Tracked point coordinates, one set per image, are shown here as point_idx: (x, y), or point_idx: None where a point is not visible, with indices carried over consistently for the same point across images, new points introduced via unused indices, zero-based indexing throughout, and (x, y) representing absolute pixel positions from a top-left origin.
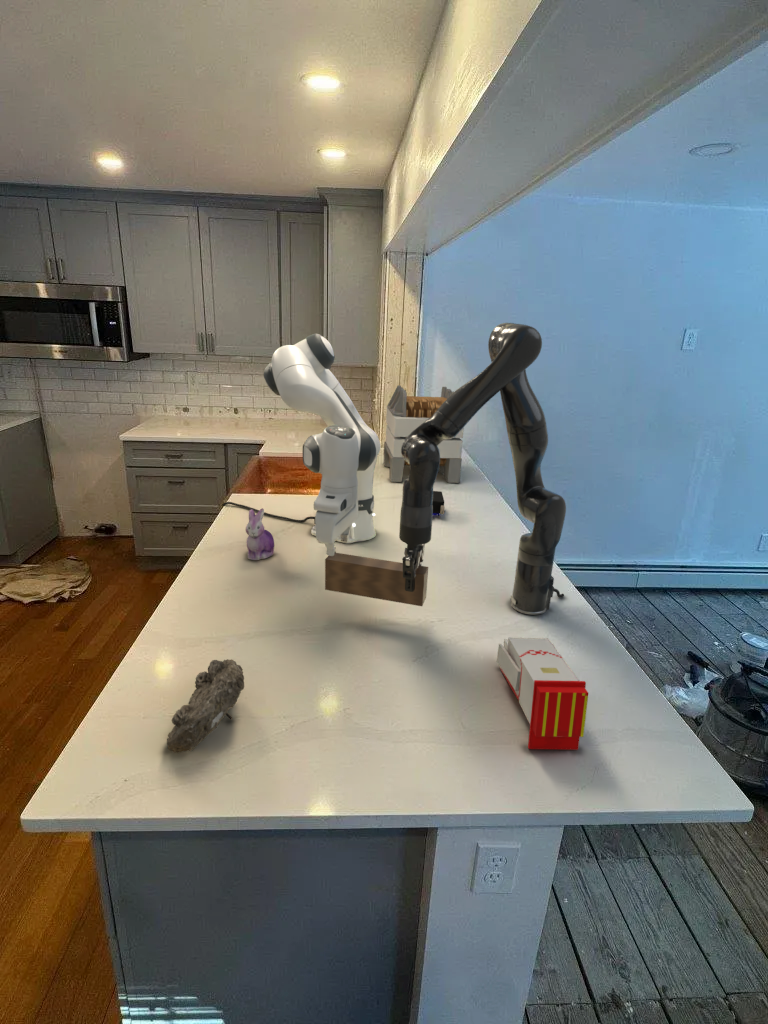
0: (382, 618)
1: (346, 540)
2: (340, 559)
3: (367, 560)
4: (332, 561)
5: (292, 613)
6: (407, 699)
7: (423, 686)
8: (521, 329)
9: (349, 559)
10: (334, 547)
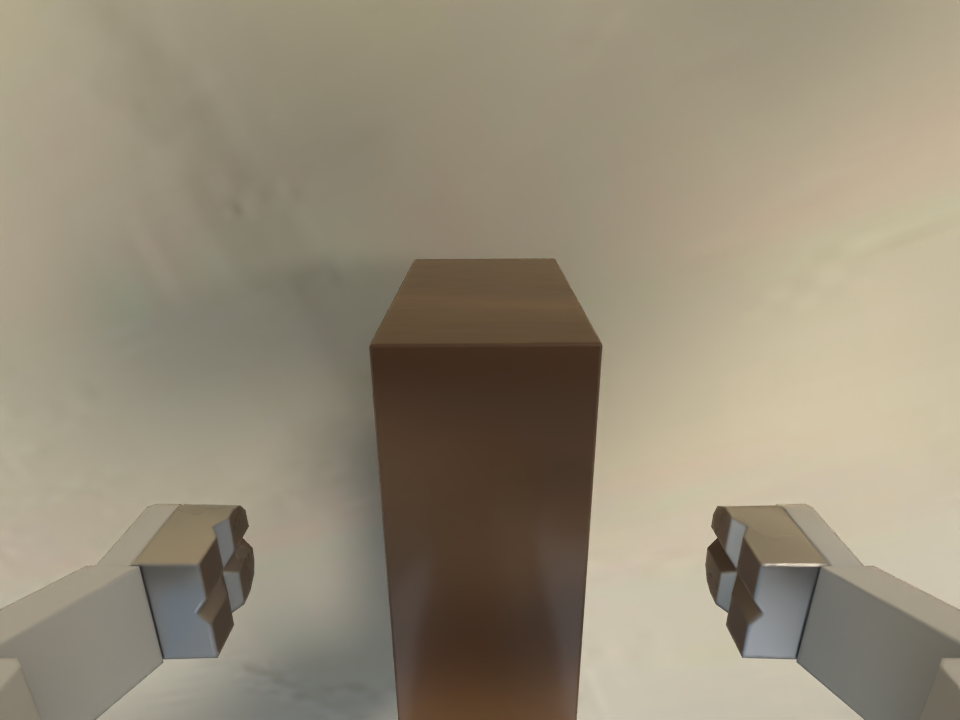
0: None
1: (711, 588)
2: (432, 499)
3: (512, 709)
4: (378, 425)
5: (370, 19)
6: None
7: (126, 715)
8: None
9: (469, 575)
10: (129, 686)
